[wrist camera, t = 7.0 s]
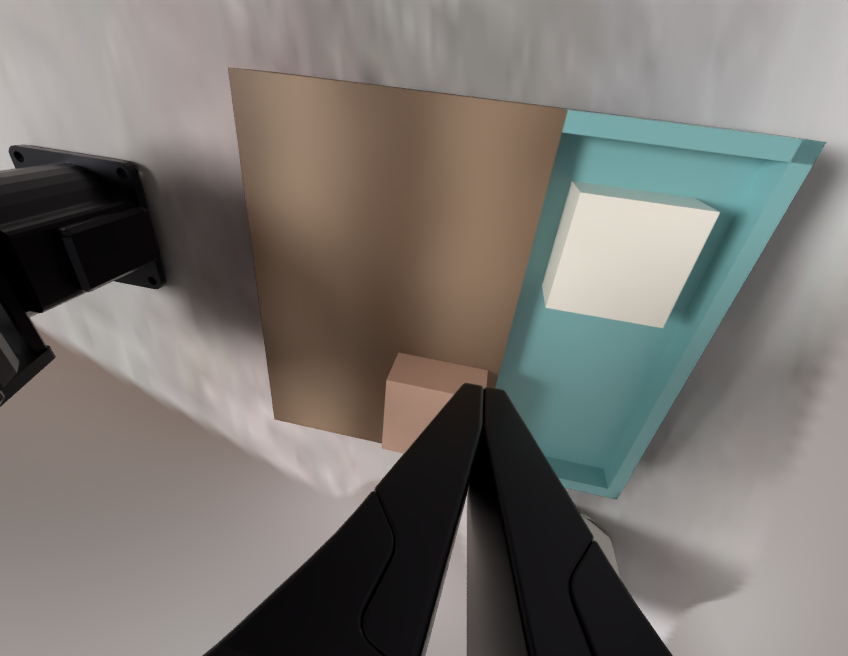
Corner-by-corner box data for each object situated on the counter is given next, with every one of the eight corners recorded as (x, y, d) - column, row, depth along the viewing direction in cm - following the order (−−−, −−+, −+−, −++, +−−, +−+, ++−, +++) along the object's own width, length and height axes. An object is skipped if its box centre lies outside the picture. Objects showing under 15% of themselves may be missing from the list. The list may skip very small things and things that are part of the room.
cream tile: (541, 284, 16) (545, 307, 14) (571, 180, 14) (580, 192, 12) (645, 302, 15) (662, 328, 14) (692, 197, 13) (720, 211, 11)
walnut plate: (299, 384, 24) (274, 419, 21) (274, 71, 15) (227, 67, 13) (479, 423, 23) (475, 464, 20) (557, 107, 14) (567, 109, 12)
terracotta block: (392, 417, 20) (381, 448, 18) (398, 352, 17) (386, 380, 16) (472, 434, 19) (468, 467, 17) (487, 370, 17) (485, 400, 15)
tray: (479, 423, 23) (475, 467, 20) (557, 107, 14) (568, 109, 12) (603, 449, 22) (616, 499, 19) (763, 132, 14) (826, 141, 11)
